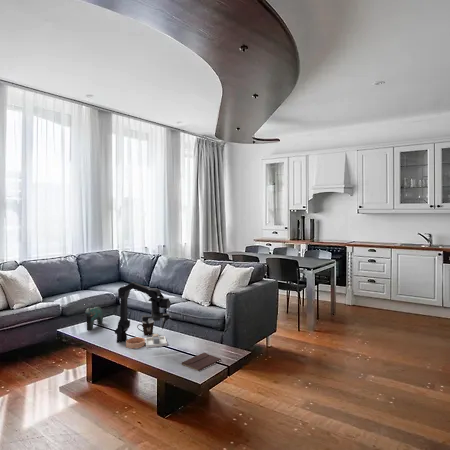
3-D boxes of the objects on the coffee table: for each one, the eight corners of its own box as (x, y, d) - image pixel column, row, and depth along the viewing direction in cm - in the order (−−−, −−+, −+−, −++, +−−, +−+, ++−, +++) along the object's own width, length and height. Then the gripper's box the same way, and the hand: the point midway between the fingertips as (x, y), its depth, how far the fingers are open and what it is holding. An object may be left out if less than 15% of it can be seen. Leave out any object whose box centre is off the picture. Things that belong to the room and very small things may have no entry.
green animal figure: (90, 331, 285) (90, 305, 284) (83, 330, 286) (82, 305, 285) (104, 323, 304) (104, 299, 303) (97, 322, 305) (97, 299, 305)
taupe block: (152, 342, 257) (152, 336, 257) (152, 340, 262) (152, 334, 262) (158, 341, 258) (158, 335, 258) (158, 339, 263) (157, 333, 263)
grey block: (153, 345, 251) (153, 339, 251) (153, 343, 256) (152, 337, 255) (159, 345, 252) (159, 338, 252) (158, 342, 257) (158, 336, 257)
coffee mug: (155, 332, 279) (155, 320, 279) (152, 336, 270) (151, 323, 270) (140, 332, 280) (140, 319, 280) (136, 336, 272) (136, 323, 271)
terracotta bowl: (126, 349, 246) (126, 344, 245) (126, 343, 258) (126, 338, 258) (145, 347, 249) (145, 342, 249) (144, 341, 261) (144, 336, 261)
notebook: (221, 361, 227) (221, 358, 227) (198, 372, 212) (198, 368, 212) (203, 355, 237) (203, 352, 237) (181, 365, 222) (181, 362, 222)
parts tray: (146, 348, 248) (146, 345, 248) (145, 340, 262) (145, 337, 262) (167, 346, 252) (166, 343, 252) (164, 338, 266) (164, 335, 266)
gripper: (142, 311, 243) (142, 334, 243) (170, 309, 248) (170, 331, 248) (141, 307, 253) (142, 329, 254) (168, 305, 258) (168, 326, 259)
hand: (155, 329), depth 254 cm, fingers open, 9 cm apart
